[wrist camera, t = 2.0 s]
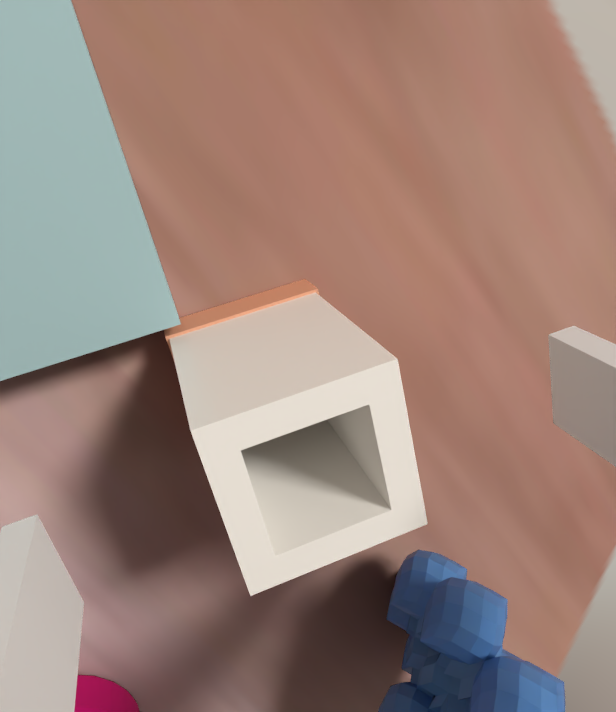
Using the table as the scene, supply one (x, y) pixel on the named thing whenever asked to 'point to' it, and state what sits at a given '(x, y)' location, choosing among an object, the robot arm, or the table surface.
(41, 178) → the pin board
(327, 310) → the sleeve
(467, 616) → the grapes
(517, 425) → the table surface
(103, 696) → the pepper mill
